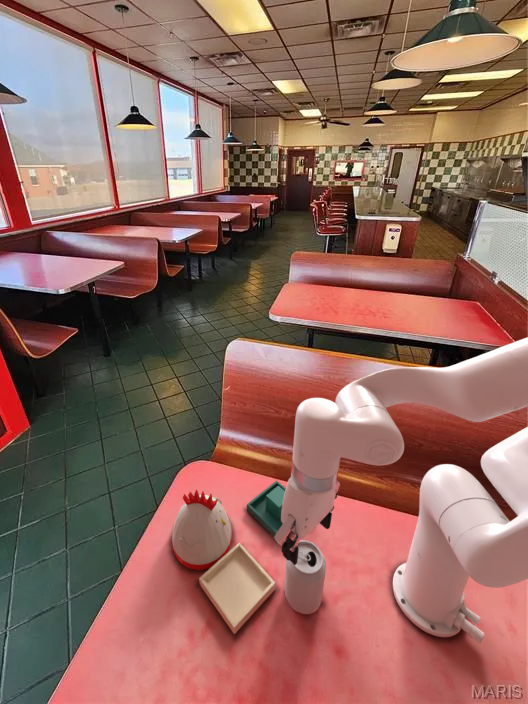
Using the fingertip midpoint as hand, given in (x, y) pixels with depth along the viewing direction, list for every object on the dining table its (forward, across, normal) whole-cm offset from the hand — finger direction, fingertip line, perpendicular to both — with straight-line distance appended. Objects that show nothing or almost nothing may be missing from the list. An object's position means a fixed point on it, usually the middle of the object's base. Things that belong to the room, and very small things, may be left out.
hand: (306, 539), depth 61 cm
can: (+17, 0, 0) cm, 17 cm away
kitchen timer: (+17, +8, -23) cm, 29 cm away
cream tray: (+17, +9, -10) cm, 21 cm away
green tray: (+16, -10, -16) cm, 25 cm away
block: (+16, -11, -16) cm, 25 cm away
